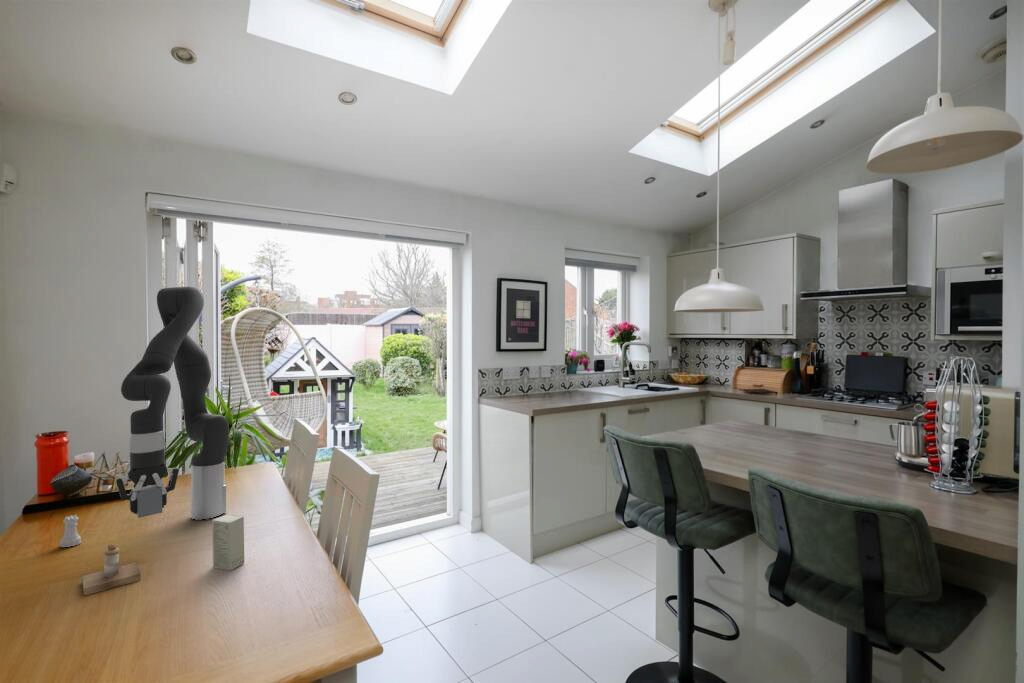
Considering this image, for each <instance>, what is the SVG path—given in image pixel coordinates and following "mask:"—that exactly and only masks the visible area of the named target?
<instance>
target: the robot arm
mask: <svg viewBox="0 0 1024 683" xmlns="http://www.w3.org/2000/svg"><path fill="white" fill-rule="evenodd" d="M156 305H157V309H158V313H159V315H160V318H161V321H162V323H163V324H162V325H163V326H164V328H163V329H162V330H160V331H159V332H157V334H156V335H155V336H154V337H152V339H151V340H150V341H149V342H148V345H147V347H146V349H145V351H144V354H143V356H142V358H141V359H140V361H139V362H138V363H137V364H136V365H135V366H134V367H133V368H132V369H131V371H130V372H128V373H127V375H126V376H125V378H124V379H123V381H122V382H121V387H120V392H121V395H122V397H123V398H124V399H125V400H126V401H130V402H146V401H147V402H149V405H148V406H147V408H143V409H138V410H134V411H133V412H132V413H131V414H130V418H129V419H130V437H129V471H128V473H127V474H126V475H123V476H116V477H115V478H114V481H115V483H116V484H115V485H116V487H117V490H118V493H119V497H120V498H121V500H122V501H129V511H130V512H131V513H133V515H136V514H137V500H136V498H137V492H140V490H141V487H146V486H151V485H157V486H158V488H162V509H163V508H165V506H166V505H167V503H168V500H167V498H168V497H167V494H168V493H169V492H172V491H174V490H175V488H176V484H177V481H178V477H179V472H180V469H179V468H178V467H176V466H173V467H167V466H166V441H165V440H166V439H165V432H164V415H165V414H164V413H165V409H166V405H167V403H168V402H167V401H168V399H169V396H170V394H171V393H170V392H171V390H172V388H171V387H172V386H171V381H170V380H169V378H168V377H167V376H166V375H164V374H166V373H168V372H169V371H170V370H171V368H172V366H173V365H174V369H175V374H176V379H177V381H178V385H179V392H180V396H181V400H182V407H183V417H184V426H185V427H184V428H185V431H186V432H185V433H186V436H187V437H188V438H189V439H190V440H191V441H192V442H193V441H194V442H197V443H202V448H201V451H200V452H199V453H196V454H194V455H192V457H191V484H190V489H191V491H190V492H191V493H190V494H191V496H190V498H191V499H190V501H191V502H190V519H191V518H192V519H191V520H193V519H195V520H194V521H203V520H202V519H206V520H209V519H208V518H212V519H214V518H213V517H216V516H218V515H221V514H223V513H226V514H227V484H225V477H226V476H225V473H226V472H225V471H226V470H225V469H226V468H225V467H226V466H225V465H226V463H225V462H226V455H227V454H228V449H229V437H230V426H229V421H228V419H227V418H226V417H225V416H224V415H222V414H213V413H212V414H211V413H209V412H208V408H207V404H206V393H207V391H208V388H209V385H210V382H211V378H212V369H211V365H210V360H209V357H208V356H209V355H208V354H207V353H206V351H205V350H204V348H203V347H202V346H201V345H200V344H199V343H198V342H197V341H196V340H195V339H194V338H193V337H192V336H191V335H190V334H189V332H190V330H191V329H192V327H193V326H194V324H195V323H196V321H197V320H198V318H199V316H200V315H201V314H202V311H203V310H204V306H205V299H204V296H203V293H202V291H201V290H200V288H197V287H195V286H177V287H176V286H174V287H164V288H163V287H162V288H160V290H158V291H157V294H156ZM166 474H168V476H169V479H168V483H167V486H165V485H164V483H163V481H162V479H163V478H164V476H165V475H166ZM128 480H130V481H131V482H132V483H133V486H132V489H131V491H130V493H127V491H126V487H125V485H127V483H128V482H127V481H128ZM223 515H224V514H223ZM221 516H222V515H221ZM216 518H217V517H216Z"/></svg>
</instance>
